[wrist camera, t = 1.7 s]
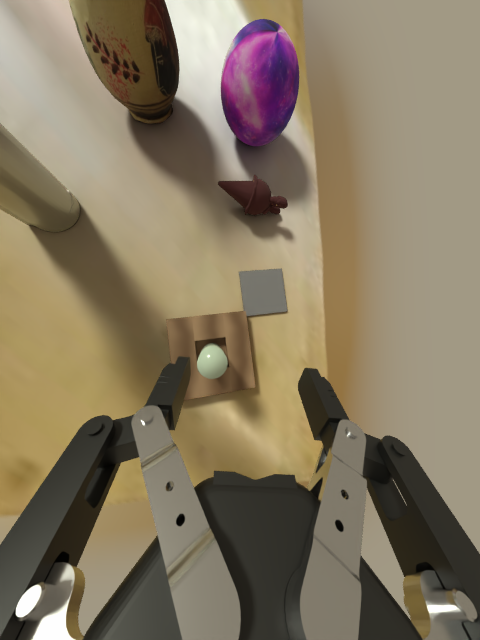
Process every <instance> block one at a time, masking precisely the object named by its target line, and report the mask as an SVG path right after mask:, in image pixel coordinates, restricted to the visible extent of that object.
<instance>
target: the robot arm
mask: <svg viewBox="0 0 480 640" xmlns="http://www.w3.org/2000/svg"><path fill="white" fill-rule="evenodd" d="M0 209H1V210H3V211H4V212H6V213H8V214H10V215H11V216H13V217H15V218H16V219H18V220H20V221H22V222H23V223H25V224H27V225H34V226H36V227H38V228H40V229H42V230H45V231H49V232H59V231H64V230H66V229H68V228H70V227H71V226H73V225H74V224H75V223H76V221H77V220H78V218H79V214H80V207H79V203H78V201H77V199H76V198H75V197H74V195H73V194H72V193H71V192H70V191H69V190H68V189H67V188H66V187H65V186H63V185H62V184H61V183H60V182H59V181H58V180H57V179H56V178H55V177H54V176H53V175H52V174H51V173H50V172H49V171H48V170H47V169H46V168H45V167H44V166H43V165H42V164H41V163H40V162H39V161H38V160H37V159H36V158H35V157H34V156H33V155H32V154H31V153H30V152H29V151H28V150H27V149H26V148H25V147H24V146H23V145H22V144H21V143H20V142H19V141H18V140H17V139H16V138H15V137H14V136H13V135H12V134H11V133H10V132H9V131H8V130H7V129H6V128H5V127H4V126H3V125H2V124H1V123H0ZM190 376H191V364H190V357H184V356H178V358H177V360H176V363H175V364H173V363H169V364H168V365H167V366H166V367H165V368H164V369H163V370H162V373H161V375H160V377H159V379H158V381H157V383H156V385H155V387H154V389H153V391H152V393H151V395H150V397H149V399H148V401H147V403H146V405H145V406H144V407H143V408H141V409H140V410H139V411H137V412H136V414H134V415H132V416H129V417H125V418H121V419H116V420H112V419H111V418H110V417H109V416H105V415H102V416H97V417H94V418H92V419H90V420H89V421H87V422H86V423H85V424H83V425H82V427H81V428H80V429H79V430H78V432H77V433H76V435H75V436H74V438H73V439H72V441H71V442H70V444H69V445H68V446H67V448H66V449H65V451H64V452H63V454H62V455H61V457H60V458H59V460H58V461H57V463H56V464H55V466H54V467H53V468H52V470H51V471H50V473H49V474H48V476H47V477H46V479H45V480H44V482H43V483H42V485H41V486H40V487H39V489H38V490H37V492H36V493H35V495H34V496H33V498H32V499H31V501H30V502H29V504H28V505H27V507H26V508H25V509H24V511H23V512H22V514H21V515H20V517H19V518H18V520H17V521H16V523H15V524H14V526H13V527H12V529H11V530H10V531H9V533H8V534H7V536H6V537H5V539H4V540H3V542H2V543H1V545H0V640H480V554H479V552H478V551H477V549H476V548H475V546H474V545H473V543H472V542H471V540H470V539H469V538H468V536H467V535H466V533H465V531H464V530H463V529H462V527H461V526H460V525H459V523H458V521H457V519H456V518H455V516H454V515H453V514H452V512H451V511H450V509H449V508H448V506H447V505H446V503H445V502H444V500H443V499H442V497H441V496H440V494H439V493H438V491H437V490H436V488H435V487H434V485H433V484H432V482H431V481H430V479H429V478H428V476H427V475H426V473H425V472H424V471H423V469H422V467H421V466H420V464H419V463H418V461H417V460H416V459H415V457H414V455H413V454H412V452H411V451H410V450H409V448H408V447H407V446H406V445H405V444H404V443H403V442H401V441H400V440H398V439H397V438H395V437H392V436H385V437H383V439H381V440H380V439H378V438H375V437H373V436H370V435H367V434H365V433H364V432H363V431H362V429H361V428H360V427H359V426H358V425H357V424H355V423H354V422H352V421H350V420H349V418H348V416H347V414H346V413H345V411H344V409H343V407H342V405H341V403H340V401H339V399H338V398H337V396H336V394H335V392H334V390H333V388H332V386H331V384H330V383H329V382H328V381H327V380H326V379H325V378H324V377H321V376H320V374H319V372H318V370H317V369H312V368H305V369H304V371H303V373H302V375H301V378H300V380H299V383H298V391H299V394H300V397H301V400H302V403H303V406H304V409H305V412H306V415H307V418H308V421H309V425H310V428H311V431H312V434H313V437H314V440H321V441H322V443H323V446H322V448H321V451H320V454H319V457H318V460H317V463H316V466H315V470H314V473H313V476H312V478H311V480H310V482H309V484H308V486H307V488H305V487H304V486H302V485H301V484H299V483H297V482H296V480H295V475H281V474H274V475H271V476H268V477H264V478H261V479H258V480H254V479H251V478H248V477H246V476H243V475H241V474H238V473H236V472H224V471H214V477H212V478H208V479H206V480H204V481H202V482H201V483H199V484H198V485H197V486H196V487H193V485H192V482H191V480H190V477H189V475H188V472H187V470H186V467H185V465H184V462H183V460H182V457H181V455H180V452H179V450H178V448H177V446H176V444H174V442H173V439H172V437H171V434H170V432H169V430H175V428H176V424H177V421H178V418H179V415H180V411H181V408H182V405H183V401H184V398H185V395H186V391H187V388H188V385H189V381H190ZM137 457H140V461H141V468H142V472H143V477H144V481H145V485H146V489H147V493H148V497H149V501H150V505H151V510H152V514H153V518H154V522H155V525H156V530H157V534H158V535H157V536H156V538H155V539H154V541H153V542H152V543H151V545H150V546H149V547H148V549H147V550H146V551H145V553H144V554H143V555H142V557H141V558H140V559H139V560H138V562H137V563H136V564H135V566H134V567H133V569H132V570H131V571H130V572H129V574H128V575H127V576H126V578H125V579H124V581H123V582H122V583H121V585H120V586H119V587H118V589H117V590H116V591H115V593H114V594H113V595H112V597H111V598H110V599H109V601H108V602H107V603H106V605H105V606H104V607H103V609H102V610H101V611H100V613H99V614H98V616H97V617H96V618H95V620H94V621H93V623H92V624H91V626H90V628H89V629H88V631H87V632H86V634H85V636H83V635H82V633H81V632H80V629H79V624H78V615H79V608H80V604H81V601H82V597H83V594H84V588H85V577H84V574H83V572H82V571H81V570H80V569H79V568H77V565H78V562H79V560H80V558H81V555H82V553H83V551H84V548H85V546H86V544H87V541H88V539H89V536H90V534H91V532H92V529H93V527H94V525H95V522H96V520H97V517H98V515H99V513H100V511H101V508H102V506H103V504H104V501H105V499H106V497H107V494H108V492H109V489H110V487H111V485H112V482H113V480H114V478H115V475H116V473H117V471H118V468H119V466H120V464H121V462H124V461H128V460H131V459H134V458H137ZM393 479H394V481H395V483H396V485H397V487H398V489H399V490H400V492H401V494H402V496H403V498H404V500H405V502H406V504H407V506H406V504H405V502H404V500H403V498H402V497H401V495H400V493H399V491H398V489H397V487H396V485H395V483H394V481H393ZM367 488H368V491H369V493H370V496H371V498H372V501H373V503H374V505H375V508H376V510H377V513H378V515H379V517H380V519H381V522H382V524H383V527H384V529H385V531H386V534H387V536H388V538H389V541H390V544H391V546H392V548H393V551H394V553H395V555H396V558H397V560H398V562H399V565H400V567H401V570H402V572H403V575H404V577H405V578H404V581H403V590H404V595H405V596H404V604H405V607H406V609H407V611H408V613H409V615H410V618H411V620H410V619H409V618H408V616H407V615H406V614H405V612H404V611H403V610H402V609H401V607H400V606H399V605H398V603H397V602H396V601H395V599H394V598H393V597H392V596H391V594H390V593H389V592H388V590H387V589H386V588H385V586H384V585H383V584H382V583H381V581H380V580H379V579H378V577H377V576H376V575H375V573H374V572H373V571H372V569H371V568H370V567H369V565H368V564H367V563H366V562H365V560H364V559H363V558H362V556H361V545H362V534H363V523H364V512H365V501H366V490H367Z"/></svg>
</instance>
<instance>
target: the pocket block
mask: <svg viewBox="0 0 480 640" xmlns="http://www.w3.org/2000/svg"><path fill="white" fill-rule="evenodd" d="M166 322H167V331H168V341H169V350H170V359H171V363H173V364H175V363H176V360H177V358H178V356H184V357H190V364H191V376H190V381H189V385H188V388H187V391H186V395H185V398H184V400H189V399H195V398H200V397H205V396H211V395H216V394H222V393H227V392H233V391H238V390H244V389H249V388H255V379H254V372H253V364H252V356H251V348H250V340H249V332H248V324H247V316H246V311H240V312H230V313H221V314H212V315H203V316H194V317H185V318H176V319H166ZM208 343H216V344H218V345H219V346H220V347H221V348H222V350H223V352H224V354H225V355H226V357H227V361H228V365H227V369H226V371H225V372H224V374H223V375H221V376H220V377H218V378H215V379H208V378H206V377H204V376H202V375H201V374H200V372H199V371H198V368H197V360H198V357H199V355H200V353H201V351H202V349H203V347H204V346H205V345H206V344H208Z"/></svg>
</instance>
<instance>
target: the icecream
mask: <svg viewBox="0 0 480 640" xmlns="http://www.w3.org/2000/svg"><path fill="white" fill-rule="evenodd" d="M218 185H219V186H220V187H221V188H222V189H224V190H225V191H226V192H227V193H228V194H229V195H230V196H232V197H233V198H234V199H235V200H236V201H237V202H238V203H239V204H240V205H242V206H243V207H244V208H245V210H244V212H245V215H246V214H247V213H248V214H251V215H254V216H255V215H257V214H261V213H262V214H264V215H265V214H266V213H268V212H271V213H273V214H279V213H280V208H286V207H287V206H288V203H287V200H286V199H285V198H283V197H281V196H278V197H276V196H273V197H271V191H270V189H269V187H268V185H267V184H266V183H265V182H264V181H262V180H261V179H257V176H256V175H254V178H253V181H219V182H218Z"/></svg>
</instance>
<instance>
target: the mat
mask: <svg viewBox="0 0 480 640" xmlns="http://www.w3.org/2000/svg"><path fill="white" fill-rule="evenodd" d="M239 276H240V284H241V292H242V300H243V308H244V311H246V316H252V315H261V314H269V313H278V312H287V305H286V297H285V290H284V282H283V275H282V269H269V270H255V271H241V272H239Z"/></svg>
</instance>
